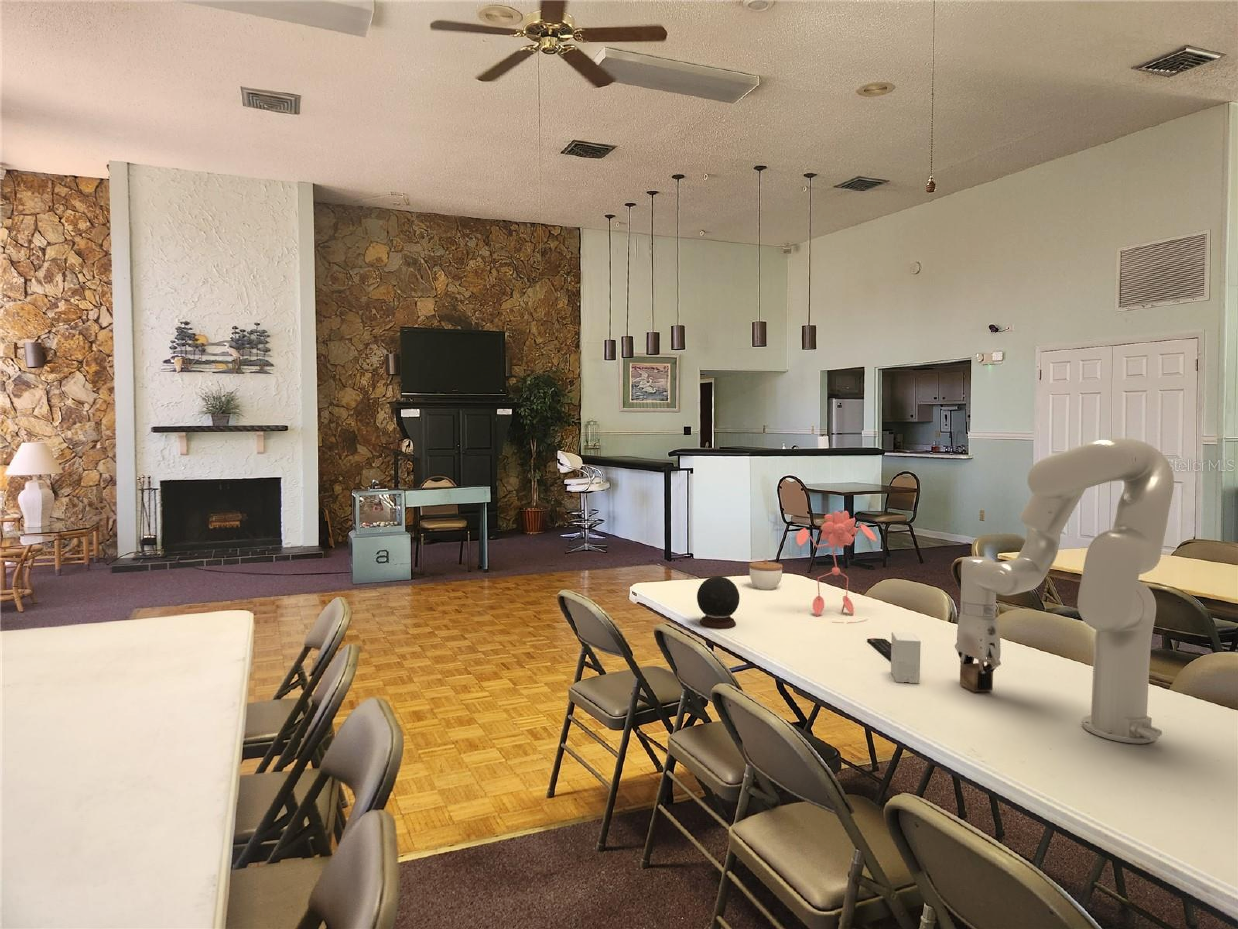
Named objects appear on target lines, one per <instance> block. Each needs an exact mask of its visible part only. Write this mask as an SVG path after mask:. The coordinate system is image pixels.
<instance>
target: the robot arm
mask: <svg viewBox="0 0 1238 929" xmlns="http://www.w3.org/2000/svg"><path fill="white" fill-rule="evenodd" d="M1120 481H1122V482H1123V484H1124V488H1123V491H1122V493H1121V495H1120V498H1119V500H1118V504H1117V506H1116V507H1117V508H1116V513H1115V514H1116V515H1115V518H1114V521H1113V526H1112V528H1111V529H1109V530H1106V531H1103V532H1101V533H1099V534H1098V535H1097V536H1096V537H1094V538H1093V540H1092V541H1091V542H1090V544H1089V545H1088V548H1087V551H1086V554H1085V559H1084V564H1083V567H1082V574H1081V578H1080V584H1079V588H1078V595H1077V611H1078V614H1079V615H1080V618H1081V619H1082V620H1083V622H1084V623H1085V624H1086V625H1087V626H1088V627H1090V628H1092V629H1093V630H1095V635H1094V641H1093V642H1094V646H1093V663H1092V664H1093V665H1092V687H1091V688H1092V689H1091V690H1092V691H1091V706H1090V707H1091V710H1090V714H1089V715H1085V716H1084V717H1082V719H1081V726H1082V727H1083V728H1084V729H1085V730H1086V731H1088V732H1090V733H1091V734H1093V735H1096V736H1098V737H1100V738H1101V737H1102V738H1104V739H1107V740H1111V741H1115V742H1120V743H1121V742H1122V743H1127V744H1136V745H1137V744H1140V745H1141V744H1149V743H1152V742H1156V741H1157V740H1158V739H1159V737H1162V735H1163V731H1162V730H1161V729H1159V728H1157V727H1153V726H1152V721H1153V720H1152V717H1150V716H1149V715H1148V703H1149V702H1148V700H1149V683H1150V681H1149V680H1150V679H1149V678H1150V662H1151V648H1152V646H1151V645H1152V637H1153V631H1154V627H1155V622H1156V616H1157V615H1156V614H1157V601H1156V597H1155V596H1154V593H1153V592H1152V590H1151V589H1150V588H1149V587H1148V586H1147V585H1146V584H1145V583H1143V582H1142V581H1140V580H1139V579H1140V578H1139V577H1140V575H1143V574H1145V573H1148V572H1150V571H1153V570H1154V569H1155V568H1156V567H1158V565H1159V562H1160V560H1161V558H1162V557H1161V556H1162V551H1163V546H1164V540H1165V536H1166V532H1167V525H1168V520H1169V514H1170V513H1169V512H1170V509H1171V503H1172V500H1173V495H1174V487H1175V477H1174V472H1173V468H1172V466H1171V464H1170V462H1169V460H1168V459H1167V457H1166V456H1165V455H1164V454H1163V453H1161V451H1160V450H1158V449H1157V448H1155V447H1154V446H1153V445H1151V444H1149V443H1147V442H1145V441H1142V440H1139V439H1132V438H1102V439H1096V440H1093V441H1090V442H1087V443H1084V444H1081V445H1078V446H1076V447H1073V448H1071V449H1068V450H1066V451H1063V452H1059V453H1057V454H1054V455H1051V456H1047V457H1045V458H1043V459H1041V460H1039V461H1037V462H1036V463H1035V464H1033V465H1032V466H1031V468H1030V469H1029V471H1028V474H1027V485H1028V488H1029V490H1030V491H1031V493H1032V494H1031V496H1030V498H1029V499H1028V502H1027V503H1026V504H1025V507H1024V509H1023V511H1022V512H1021V514H1020V521H1021V523H1022V524H1023V525H1024V527H1025V528H1026V538H1025V541H1024V544H1023V545H1022V548H1021V550H1020V551H1019V553H1018V555H1017V556H1016V558H1015V559H1010V560H1006V561H1000V562H999V561H997V562H996V560H994V559H993V558H991V557H986V556H980V555H979V556H974V555H973V556H966V557H964V558H963V559H962V561H961V570H960V571H961V572H960V573H961V575H960V578H961V581H960V582H961V583H960V612H959V616H958V617H959V618H958V623H957V632H956V643H955V644H954V648H955V650H956V652H957V654H958V657H959V659H960V660H959V663H960V664H973V663H974V662H975V659H976V660H978V662H977V663H979V668H980V673H978V689H979V690H989V689H991V674H992V673H993V674H994V672H995V670H996V669H997V668H998V667H999V666H1001V664H1002V663H1001V661H1000V659H1001V649H1002V648H1001V632H1000V624H999V621H998V618H997V617H996V614H997V613H996V612H997V611H996V610H997V608H996V607H997V603H996V602H997V595H1001V596H1012V595H1013V596H1014V595H1017V594H1020V593H1026V592H1029V591H1032V590H1035V589H1036V588H1038V587H1039V586H1040V585H1041V584H1042V582H1043V581H1044V580H1045V578H1046V576H1047V575H1048V573H1049V571H1050V570H1051V568H1052V567H1053V564H1054V562H1055V561H1056V558H1057V556H1058V552H1059V549H1060V543H1061V534H1062V532H1063V530H1064V528H1065V526H1066V525H1067V523H1068V521H1069V519H1070V517H1071V516H1072V513H1073V512H1074V510H1075V508H1076V507H1077V505H1078V503H1079V502H1080V500H1081V498H1082V497H1083V494H1084V493H1085V492H1086V490H1087V489H1089V488H1092V487H1095V486H1099V485H1102V484H1106V483H1109V482H1120ZM985 663H986V665H985Z"/></svg>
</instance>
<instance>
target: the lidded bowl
mask: <svg viewBox="0 0 1238 929" xmlns="http://www.w3.org/2000/svg"><path fill="white" fill-rule="evenodd" d="M748 566H749V567H748V568H749V578H750V581H751V583H752V584H753V585H754V586H755V588H756V589H758V590H762V591H773V590H775V589H776V588H777V586H779V584H780V583H781V581H782V577H783V576H782V575H783V567H784V566H783V564H782V563H778V562H774V561H773V562H772V561H769V560H768V559H767V558H766V559H765V558H764V561H753V562H749V564H748Z"/></svg>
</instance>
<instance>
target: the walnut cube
mask: <svg viewBox="0 0 1238 929" xmlns="http://www.w3.org/2000/svg"><path fill="white" fill-rule="evenodd" d="M959 668H960V669H959V671H960V672H959V686H961V687H963V688H965V689H967V690H969V691H970V692H974V693H975V692H976V693H977V692H979V693H980V692H991V691H993V690H994V689H993V687H994V686H993V684H994V672H993V673H992V674H991V689H989V690H979V689H978V673H980V668H979V662H977V663H976V662H975V663H974V662H973V664H961V663H960V665H959Z"/></svg>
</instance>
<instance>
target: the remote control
mask: <svg viewBox="0 0 1238 929" xmlns="http://www.w3.org/2000/svg"><path fill="white" fill-rule="evenodd" d="M866 642H867V643H869V644H870V645H871V646H872V647H873V648H874V649H875V650H876V651H877V652H879V653H880V654H881V655H882V656H884V657H885V658H886V659H887V660H888V661H889V662H890V663H891V642H890V641H888V639H886V638H880V637H879V638H876V637H875V638H867V640H866Z"/></svg>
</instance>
